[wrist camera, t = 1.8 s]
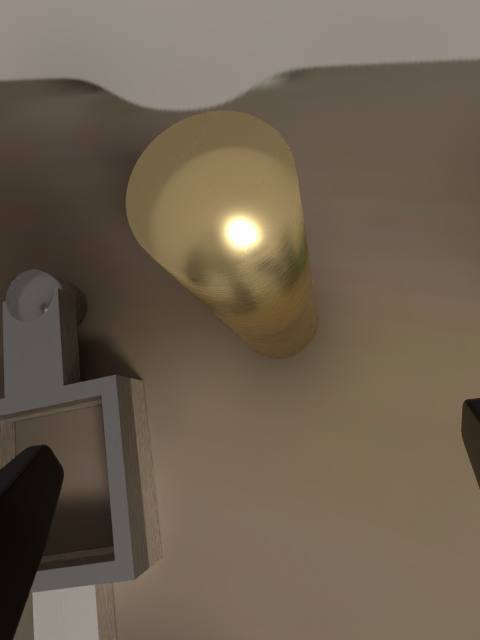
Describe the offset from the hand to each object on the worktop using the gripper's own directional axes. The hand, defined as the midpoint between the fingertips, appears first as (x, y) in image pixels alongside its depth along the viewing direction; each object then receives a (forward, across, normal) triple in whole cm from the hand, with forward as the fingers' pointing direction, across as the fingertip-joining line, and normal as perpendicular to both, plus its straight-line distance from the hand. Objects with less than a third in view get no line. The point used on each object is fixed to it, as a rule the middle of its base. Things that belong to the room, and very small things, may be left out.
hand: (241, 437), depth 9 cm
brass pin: (+12, 0, +5) cm, 13 cm away
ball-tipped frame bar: (+8, +12, +10) cm, 17 cm away
